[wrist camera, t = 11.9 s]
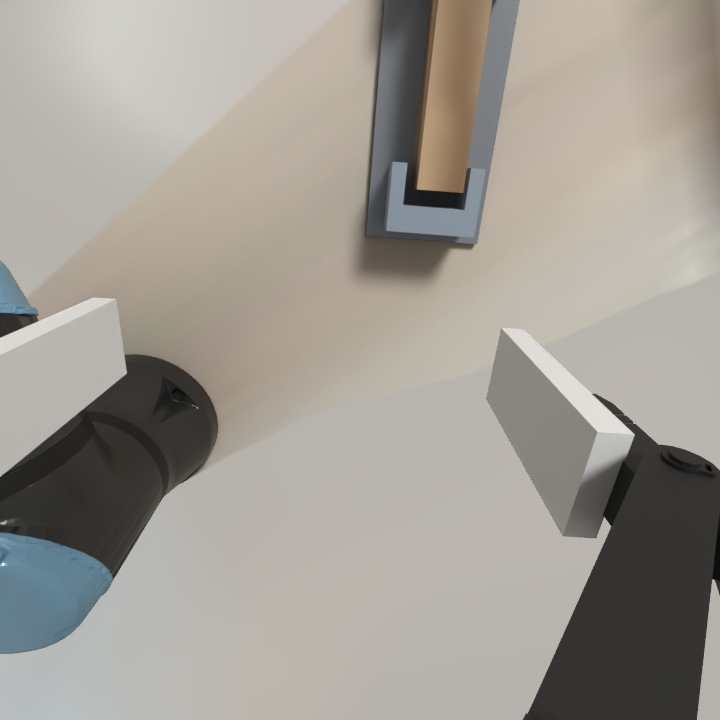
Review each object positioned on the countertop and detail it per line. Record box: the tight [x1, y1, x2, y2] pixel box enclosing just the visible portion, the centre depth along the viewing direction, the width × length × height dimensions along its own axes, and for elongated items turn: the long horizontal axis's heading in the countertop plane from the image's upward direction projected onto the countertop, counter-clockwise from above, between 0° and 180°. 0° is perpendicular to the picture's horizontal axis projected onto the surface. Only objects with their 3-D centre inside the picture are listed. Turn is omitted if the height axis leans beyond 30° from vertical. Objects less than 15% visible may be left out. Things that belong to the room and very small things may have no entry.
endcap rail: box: [366, 0, 520, 244], centre depth 32 cm, size 10×24×5 cm, turn 176°
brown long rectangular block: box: [411, 0, 492, 193], centre depth 32 cm, size 4×16×5 cm, turn 176°
